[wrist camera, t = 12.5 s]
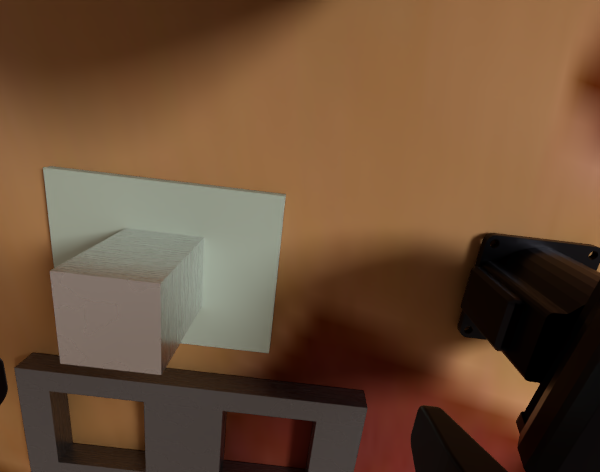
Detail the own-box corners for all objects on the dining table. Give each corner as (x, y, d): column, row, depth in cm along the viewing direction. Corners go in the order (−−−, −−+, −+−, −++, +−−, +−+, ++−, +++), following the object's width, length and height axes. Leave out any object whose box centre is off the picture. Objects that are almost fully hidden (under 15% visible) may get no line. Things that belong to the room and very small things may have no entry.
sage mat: (285, 194, 19) (285, 196, 19) (269, 347, 22) (268, 353, 22) (50, 166, 19) (43, 167, 19) (67, 324, 22) (60, 329, 22)
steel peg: (204, 237, 20) (160, 283, 14) (202, 306, 21) (161, 375, 15) (126, 228, 20) (49, 270, 14) (128, 298, 21) (60, 363, 15)
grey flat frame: (363, 390, 23) (367, 408, 22) (343, 488, 26) (345, 510, 24) (32, 352, 23) (14, 367, 22) (47, 455, 26) (31, 475, 24)
